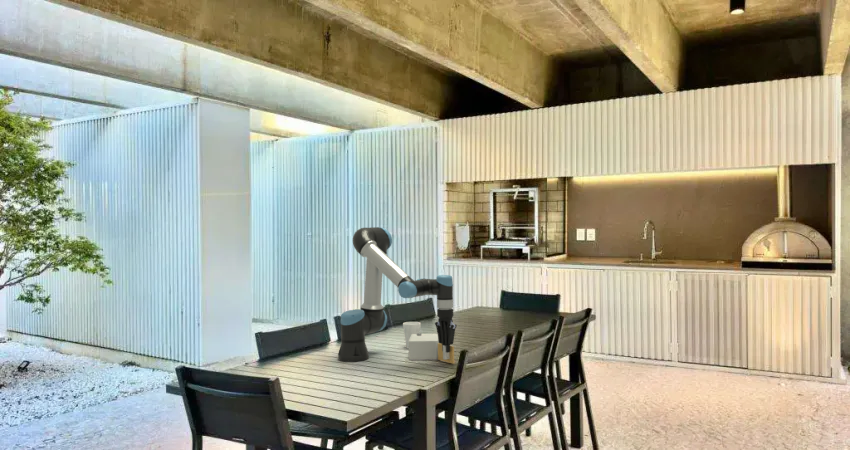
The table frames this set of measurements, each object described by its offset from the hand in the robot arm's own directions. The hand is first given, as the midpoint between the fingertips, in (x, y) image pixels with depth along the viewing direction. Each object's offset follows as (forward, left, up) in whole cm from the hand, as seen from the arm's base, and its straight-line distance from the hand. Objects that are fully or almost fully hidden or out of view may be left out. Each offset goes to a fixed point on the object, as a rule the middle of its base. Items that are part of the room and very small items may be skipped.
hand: (446, 359), depth 280 cm
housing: (+14, +17, -2) cm, 22 cm away
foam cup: (+30, +31, -3) cm, 44 cm away
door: (+4, +2, -2) cm, 5 cm away
